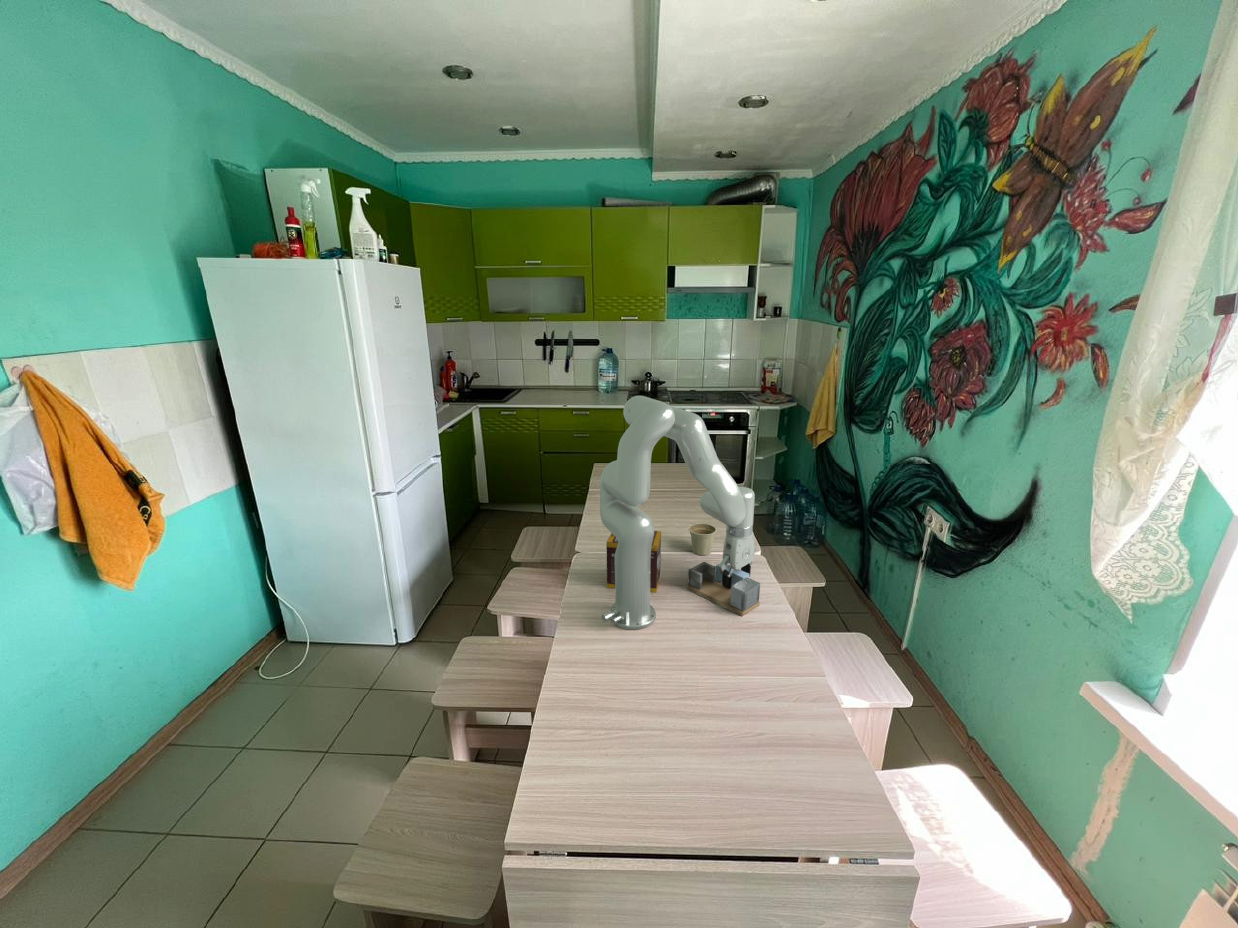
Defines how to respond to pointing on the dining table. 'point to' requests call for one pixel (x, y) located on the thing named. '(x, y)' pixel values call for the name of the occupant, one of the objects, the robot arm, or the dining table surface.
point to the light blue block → (736, 575)
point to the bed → (712, 587)
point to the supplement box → (654, 561)
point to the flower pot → (702, 538)
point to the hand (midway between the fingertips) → (736, 580)
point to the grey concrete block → (745, 594)
